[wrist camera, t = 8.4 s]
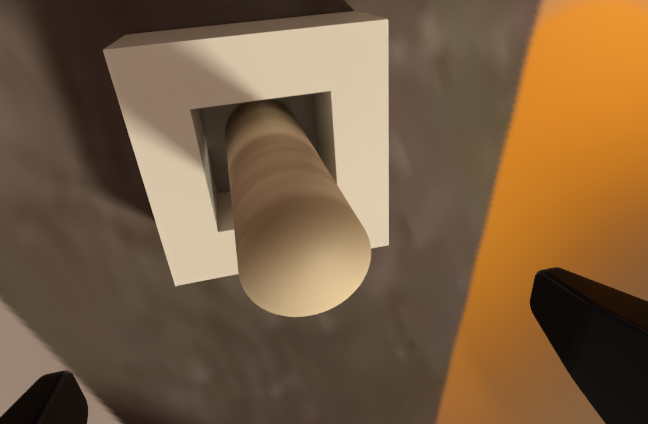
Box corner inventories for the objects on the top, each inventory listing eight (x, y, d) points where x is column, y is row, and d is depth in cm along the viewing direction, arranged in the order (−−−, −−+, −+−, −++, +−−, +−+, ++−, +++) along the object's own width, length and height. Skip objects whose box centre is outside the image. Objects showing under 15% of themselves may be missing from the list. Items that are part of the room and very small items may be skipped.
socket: (361, 203, 22) (388, 245, 19) (181, 234, 21) (175, 285, 17) (354, 11, 18) (388, 19, 14) (126, 34, 16) (102, 49, 13)
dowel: (302, 163, 20) (372, 301, 11) (232, 174, 19) (250, 328, 11) (294, 93, 18) (369, 192, 10) (218, 103, 18) (226, 217, 9)
